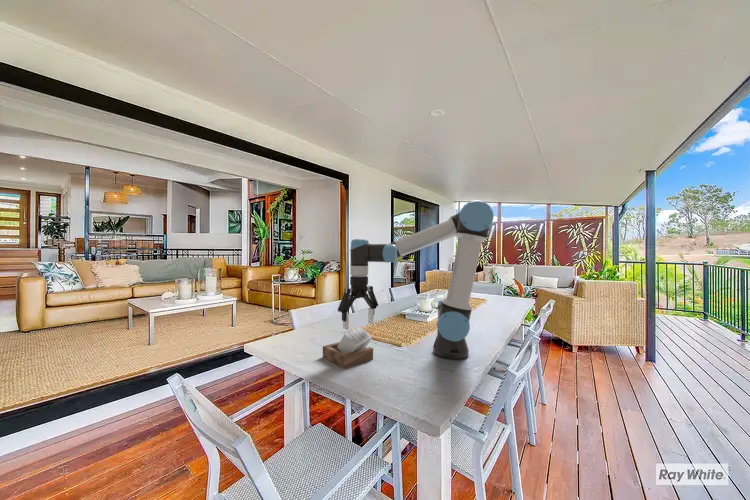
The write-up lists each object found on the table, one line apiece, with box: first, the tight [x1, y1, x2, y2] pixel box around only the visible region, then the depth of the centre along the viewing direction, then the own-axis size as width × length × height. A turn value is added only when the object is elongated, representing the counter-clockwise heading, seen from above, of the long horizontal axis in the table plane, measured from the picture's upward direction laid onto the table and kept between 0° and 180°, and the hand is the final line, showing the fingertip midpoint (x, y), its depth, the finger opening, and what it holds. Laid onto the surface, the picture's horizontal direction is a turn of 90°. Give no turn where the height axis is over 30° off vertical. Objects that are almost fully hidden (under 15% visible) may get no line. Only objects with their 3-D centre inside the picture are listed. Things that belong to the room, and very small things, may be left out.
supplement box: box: [337, 326, 373, 354], centre depth 121 cm, size 7×7×13 cm
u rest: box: [322, 341, 374, 370], centre depth 119 cm, size 15×14×4 cm
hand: (358, 326), depth 122 cm, fingers open, 13 cm apart
